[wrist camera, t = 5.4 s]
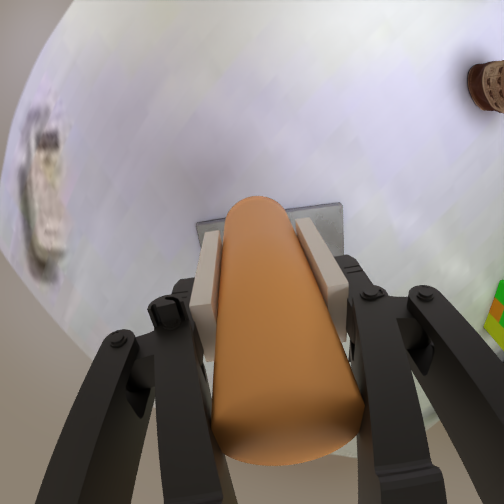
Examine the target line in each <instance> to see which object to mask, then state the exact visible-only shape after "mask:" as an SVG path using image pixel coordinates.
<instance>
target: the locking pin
mask: <svg viewBox="0 0 504 504" xmlns="http://www.w3.org/2000/svg"><path fill="white" fill-rule="evenodd" d="M364 408H365V404H364V401H363V398H362V396H361V393H360V390H359V388H358V385H357V382H356V380H355V377H354V374H353V372H352V369H351V366H350V364H349V361H348V359H347V356H346V353H345V351H344V348H343V346H342V343H341V341H340V338H339V336H338V333H337V331H336V328H335V326H334V323H333V321H332V318H331V316H330V313H329V311H328V308H327V306H326V303H325V301H324V299H323V296H322V294H321V291H320V289H319V287H318V284H317V282H316V279H315V277H314V275H313V272H312V270H311V268H310V265H309V263H308V261H307V258H306V256H305V254H304V251H303V249H302V247H301V245H300V242H299V240H298V238H297V235H296V233H295V231H294V229H293V226H292V224H291V222H290V220H289V218H288V215H287V213H286V211H285V210H284V208H283V207H282V206H281V205H280V204H279V203H278V202H276V201H274V200H273V199H270V198H267V197H263V196H252V197H248V198H245V199H243V200H241V201H239V202H238V203H236V204H235V205H234V206H233V207H232V208H231V209H230V211H229V212H228V214H227V216H226V220H225V225H224V236H223V248H222V260H221V272H220V285H219V298H218V312H217V326H216V341H215V357H214V374H213V392H212V412H211V430H212V432H213V434H214V436H215V438H216V441H217V443H218V445H219V447H220V449H221V451H222V453H224V454H225V455H227V456H229V457H231V458H233V459H235V460H238V461H241V462H245V463H250V464H255V465H265V466H281V465H291V464H298V463H302V462H307V461H311V460H314V459H317V458H320V457H323V456H325V455H328V454H330V453H332V452H334V451H336V450H338V449H339V448H341V447H343V446H344V445H346V444H347V443H348V442H349V441H351V440H352V439H353V438H354V437H355V436H356V435H357V434H358V433H359V430H360V426H361V421H362V417H363V412H364Z"/></svg>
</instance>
